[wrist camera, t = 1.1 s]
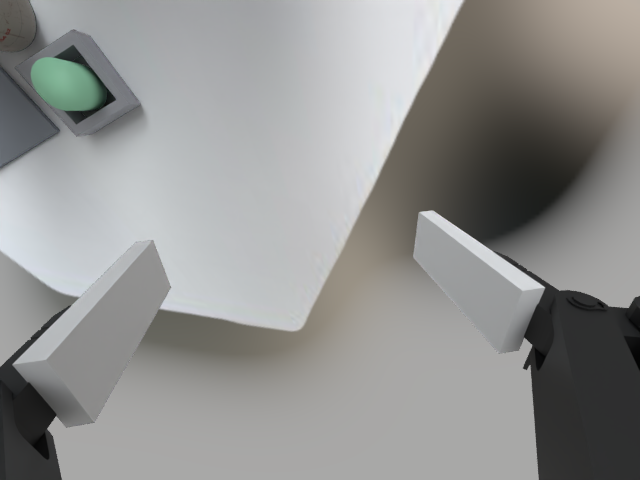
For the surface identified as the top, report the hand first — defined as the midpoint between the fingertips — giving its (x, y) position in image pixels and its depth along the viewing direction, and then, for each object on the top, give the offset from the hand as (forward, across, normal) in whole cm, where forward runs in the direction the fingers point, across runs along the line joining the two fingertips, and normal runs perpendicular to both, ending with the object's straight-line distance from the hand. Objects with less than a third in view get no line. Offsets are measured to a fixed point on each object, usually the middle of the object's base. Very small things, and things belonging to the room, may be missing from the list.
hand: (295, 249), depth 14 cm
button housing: (+30, -23, +9) cm, 39 cm away
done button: (+29, -23, +9) cm, 38 cm away
